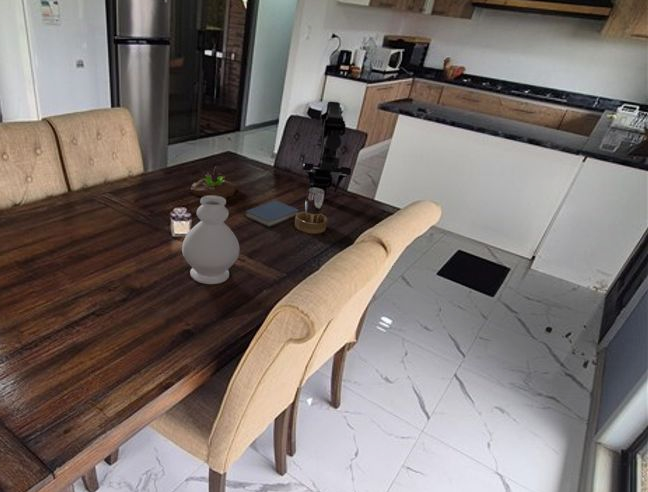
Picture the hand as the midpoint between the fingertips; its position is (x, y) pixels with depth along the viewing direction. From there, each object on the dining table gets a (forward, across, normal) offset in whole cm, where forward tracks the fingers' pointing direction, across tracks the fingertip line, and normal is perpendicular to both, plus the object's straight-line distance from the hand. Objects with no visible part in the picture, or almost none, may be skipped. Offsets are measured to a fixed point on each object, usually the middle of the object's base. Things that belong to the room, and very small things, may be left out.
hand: (323, 191), depth 185 cm
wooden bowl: (+14, -3, -8) cm, 16 cm away
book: (+12, -19, -3) cm, 23 cm away
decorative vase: (+27, -30, -55) cm, 69 cm away
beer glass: (+14, -3, -8) cm, 16 cm away
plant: (+6, -49, +14) cm, 51 cm away
